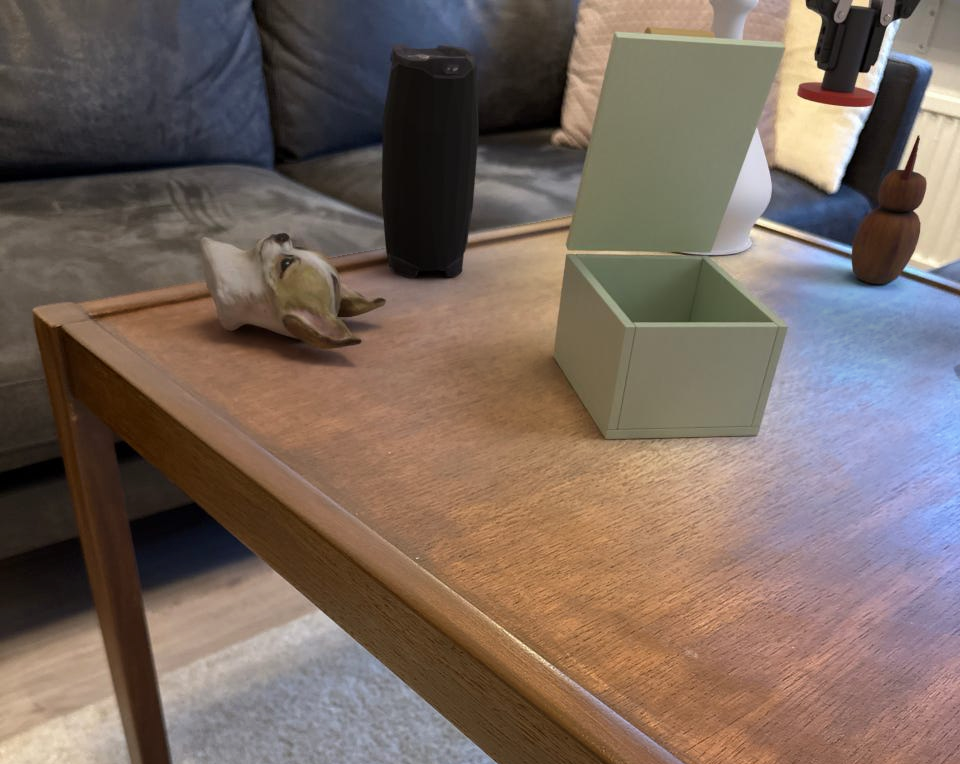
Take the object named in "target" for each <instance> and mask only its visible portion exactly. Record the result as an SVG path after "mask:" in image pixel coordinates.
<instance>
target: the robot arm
mask: <svg viewBox="0 0 960 764" xmlns="http://www.w3.org/2000/svg"><path fill="white" fill-rule="evenodd" d="M853 1H854V0H805V2H804V3H805V7H806V8H807V9H808V10H811V11H812V12H814V13H816V14H817V15H819V16H820V18H821V24H820V29H819V33H818V37H817V42H816V45H815V50H814V53H813V56H814V57H813V58H814V61H815V62H816V68H817V69H820V70H821V71H824V72H825V71H833V69H834V67H835V64H836V60H837V56H838V52H839V49H840V45H841V41H842V37H843V33H844V29H845V26H846V25H845V24H842V22H843V21H844V20H845V19H846V17H847V14H848V12H849V9H850V7H851V5H852V4H853ZM920 3H921V0H868V6H867V7H869V8H873V9H876V12H875V16H874V19H873V23H872V26H871V30H870V34H869V37H868V41H867V45H866V48H865V52H864V56H863V59H862V63H861V67H860V70H859V74H868V73H870V71H871V68H872V67H874V66H875V65H876V63H877V61H878V60H879V55H880V52H881V49H882V46H883V42H884V38H885V34H886V31H887V28H888V27H889V25H890V24H891V23H893V22H895V21H898V20H900V19H903V20H907V19H909V18H911V16H912V15H913V13H914V12H915V10H916V9H917V7H918V5H919V4H920Z"/></svg>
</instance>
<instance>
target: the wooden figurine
mask: <svg viewBox="0 0 960 764" xmlns="http://www.w3.org/2000/svg"><path fill="white" fill-rule="evenodd" d="M920 140H921V135H919V134H918V135H917V136H916V139H915V142H914V144H913V146H912V149H911V151H910V154H909V156H908V159H907V162H906V164H905V167H904V169H893V170H891V171H889V172H888V173H887V174H886V175H885V176H884V178H883V180H882V181H881V183H880V186H879V189H878V193H877V202H878V205H879V207H876V208H874V209H872V210H871V211H870V212H869V213H868V214H867V215H865V216H864V218H863V220H862V221H861V223H860V224H859V226H858V227H857V230H856V232H855V235H854V238H853V241H852V245H851V267H852V272H853V274H854V275H855V277H856V278H857V279H858V280H861V281H863V282H865V283H867V284H872V285H885V284H891V283H892V282H894V281H895V280H897V279H898V278H899V277H900V275H901V274H902V273H903V272H904V270H905V268H906V267H907V265H908V264H909V263H910V260H911V259H912V257H913V255H914V253H915V251H916V248H917V245H918V243H919V239H920V235H921V225H922V223H921V220H920V217H919V215H918V213H916V212H915V210H917V209H918V208H920V206H921V205H922V204H923V201H924V198H925V195H926V192H927V184H928V182H927V178H926V177H925V176H924V175H922V174H921V173H919V172H915V171H914V169H915V165H916V160H917V157H918V150H919V144H920Z"/></svg>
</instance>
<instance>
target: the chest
mask: <svg viewBox="0 0 960 764" xmlns="http://www.w3.org/2000/svg"><path fill="white" fill-rule="evenodd" d="M560 290H561V291H560V299H559V305H558V306H559V307H558V312H557V313H558V315H557V321H556V322H557V323H556V331H555V336H554V337H555V338H554V345H553V346H554V347H553V351H552V352H553V353H552V357H553V359H554V360H555V361H556V363H557V365H558V366H559V368H560V370H561V371H562V373H563V374H564V376H565V378H566V379H567V381H568V382H569V384H570V385H571V387H572V389H573V390H574V392H575V394H576V395H577V397H578V398H579V400H580V401H581V403H582V404H583V405H584V408H585V409H586V410H587V412H588V414H589V415H590V417H591V418H592V420H593V422H594V424H595V425H596V426H597V428H598V430H599V431H600V433H601V435H602V436H603V438H604V439H605V440H632V439H633V440H635V439H672V438H673V439H675V438H676V439H677V438H708V437H709V438H710V437H711V438H712V437H713V438H714V437H745V436H747V437H749V436H758V435H759V433H760V431H761V426H762V422H763V419H764V416H765V415H764V414H765V411H766V408H767V404H768V401H769V396H770V393H771V390H772V386H773V383H774V379H775V376H776V372H777V369H778V366H779V362H780V358H781V355H782V350H783V348H784V343H785V339H786V336H787V332H788V329H789V325H788V324H787V323H785V322H784V321H783V320H782V319H781V318H780V317H778V316H777V315H776V314H775V313H774V312H773V311H772V310H771V309H769V308H768V306H766V305H765V304H764V303H762V301H761V300H759V298H757V297H756V296H755V295H753V294H752V293H751V292H750V291H749V290H748V289H747V288H746V287H745V286H744V285H743V284H742V283H740V282H739V281H738V280H736V279H735V278H734V277H733V276H732V275H731V274H730V273H729V272H728V271H726V270H725V269H724V268H723V267H722V266H721V265H719V264H718V263H717V262H716V261H715V260H714V259H713V258H711V257H710V255H692V254H688V255H683V254H681V255H680V254H619V253H617V254H616V253H615V254H614V253H613V254H611V253H610V254H609V253H566V254H565V259H564V267H563V275H562V284H561V289H560Z"/></svg>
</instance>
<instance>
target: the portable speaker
mask: <svg viewBox="0 0 960 764" xmlns="http://www.w3.org/2000/svg"><path fill="white" fill-rule="evenodd" d="M389 61H390V62H391V67H390V72H389V79H388V83H387V84H388V85H387V91H386V97H385V103H384V110H383V116H382V143H381V144H382V146H381V148H382V151H381V154H382V155H381V205H382V217H383V231H384V243H385V244H384V245H385V253H386V258H387V265H388V267H389V268H390V270H391V271H392V272H393V273H395V274H399V275H402V276H405V277H408V278H411V279H412V278H414V277H416V276H417V275H418V273H419V272H443V274H444V275H445V276H446V277H447V278H456V277H457V276H459V274H460V273H462V272H463V266H464V265H463V263H464V255H465V253H466V249H467V244H468V243H469V242H468V241H469V232H470V226H471V220H472V213H473V209H474V197H475V196H474V195H475V185H476V174H477V173H476V171H477V159H478V146H479V136H480V135H479V101H478V99H479V98H478V67H477V66H478V65H477V63H476V58H475V55H474V54H473V52H472V50H469V49H467V48H464V47H462V46H452V45H442V44H441V45H440V44H439V45H438V46H436V48H435V47H433V48H432V47H431V48H430V47H429V48H412V47H409V46H408V45H407V44H402V43H401V44H399V43H398V44H393V45H392V48H391V52H390V55H389Z"/></svg>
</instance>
